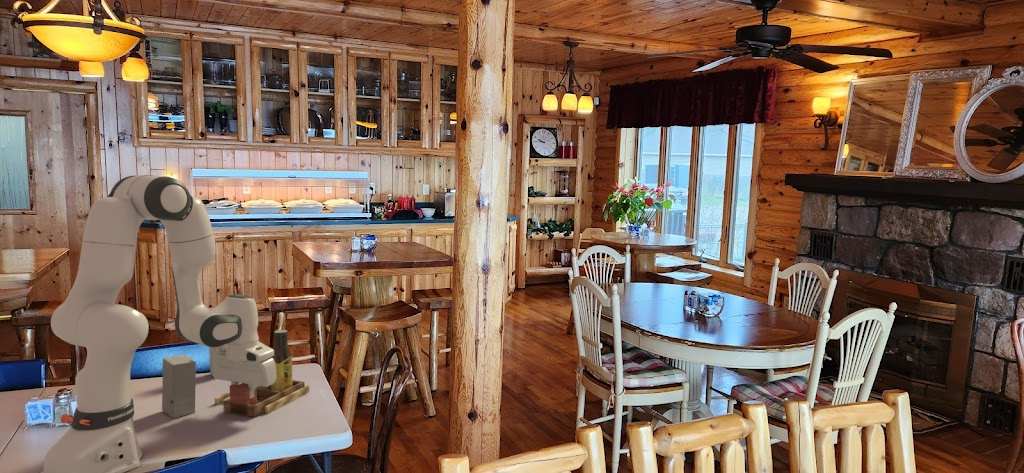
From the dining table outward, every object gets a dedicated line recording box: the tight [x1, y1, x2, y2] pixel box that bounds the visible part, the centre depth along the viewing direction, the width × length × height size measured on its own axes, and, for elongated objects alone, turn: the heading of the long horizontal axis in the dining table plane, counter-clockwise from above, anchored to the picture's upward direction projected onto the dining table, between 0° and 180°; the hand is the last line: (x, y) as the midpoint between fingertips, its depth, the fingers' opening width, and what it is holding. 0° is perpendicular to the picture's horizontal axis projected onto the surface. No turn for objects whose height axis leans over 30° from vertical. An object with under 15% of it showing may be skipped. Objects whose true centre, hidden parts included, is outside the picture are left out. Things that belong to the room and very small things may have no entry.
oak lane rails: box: [214, 385, 310, 414], centre depth 203 cm, size 19×19×2 cm
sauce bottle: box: [271, 329, 293, 392], centre depth 206 cm, size 6×6×20 cm
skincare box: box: [161, 354, 197, 419], centre depth 191 cm, size 8×7×16 cm
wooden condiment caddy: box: [222, 379, 306, 418], centre depth 199 cm, size 22×11×8 cm, turn 160°
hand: (244, 396), depth 191 cm, fingers closed on wooden condiment caddy, 2 cm apart
